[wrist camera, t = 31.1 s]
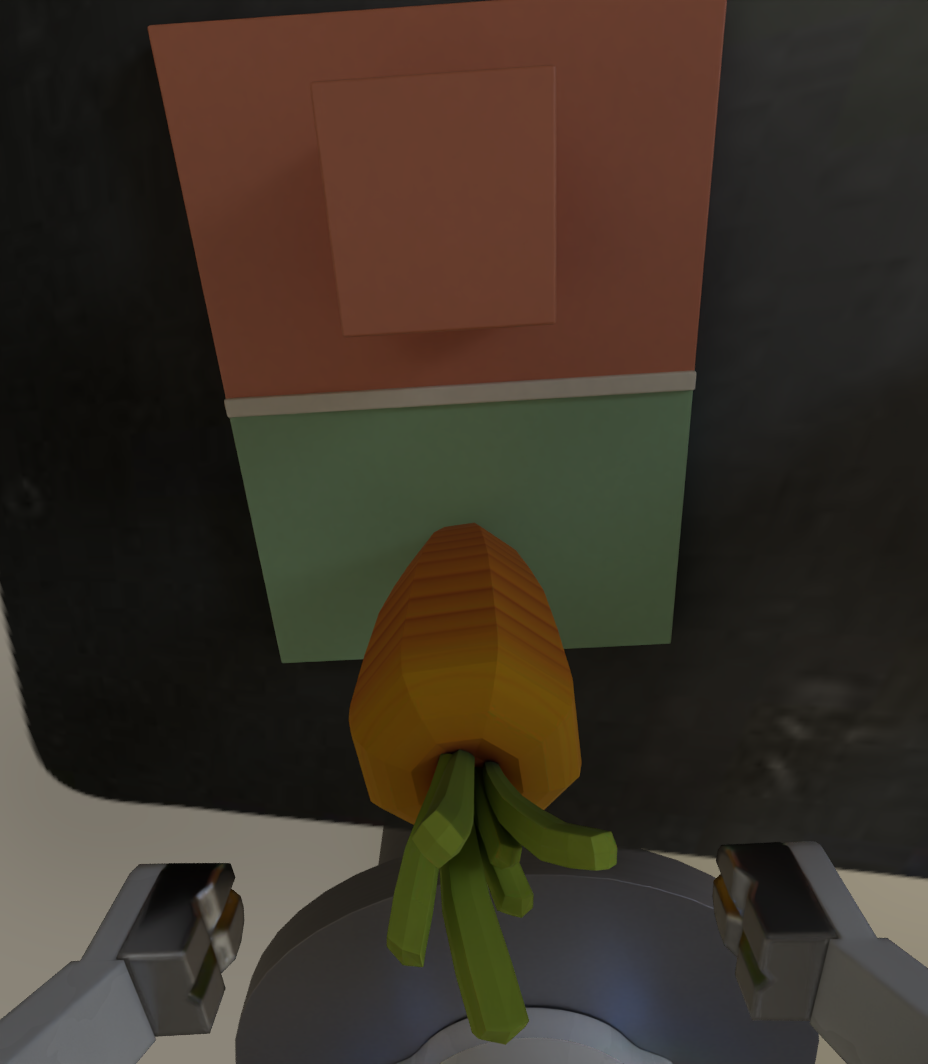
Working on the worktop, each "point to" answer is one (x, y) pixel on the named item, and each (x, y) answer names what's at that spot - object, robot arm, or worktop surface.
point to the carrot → (471, 756)
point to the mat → (465, 355)
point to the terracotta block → (440, 198)
